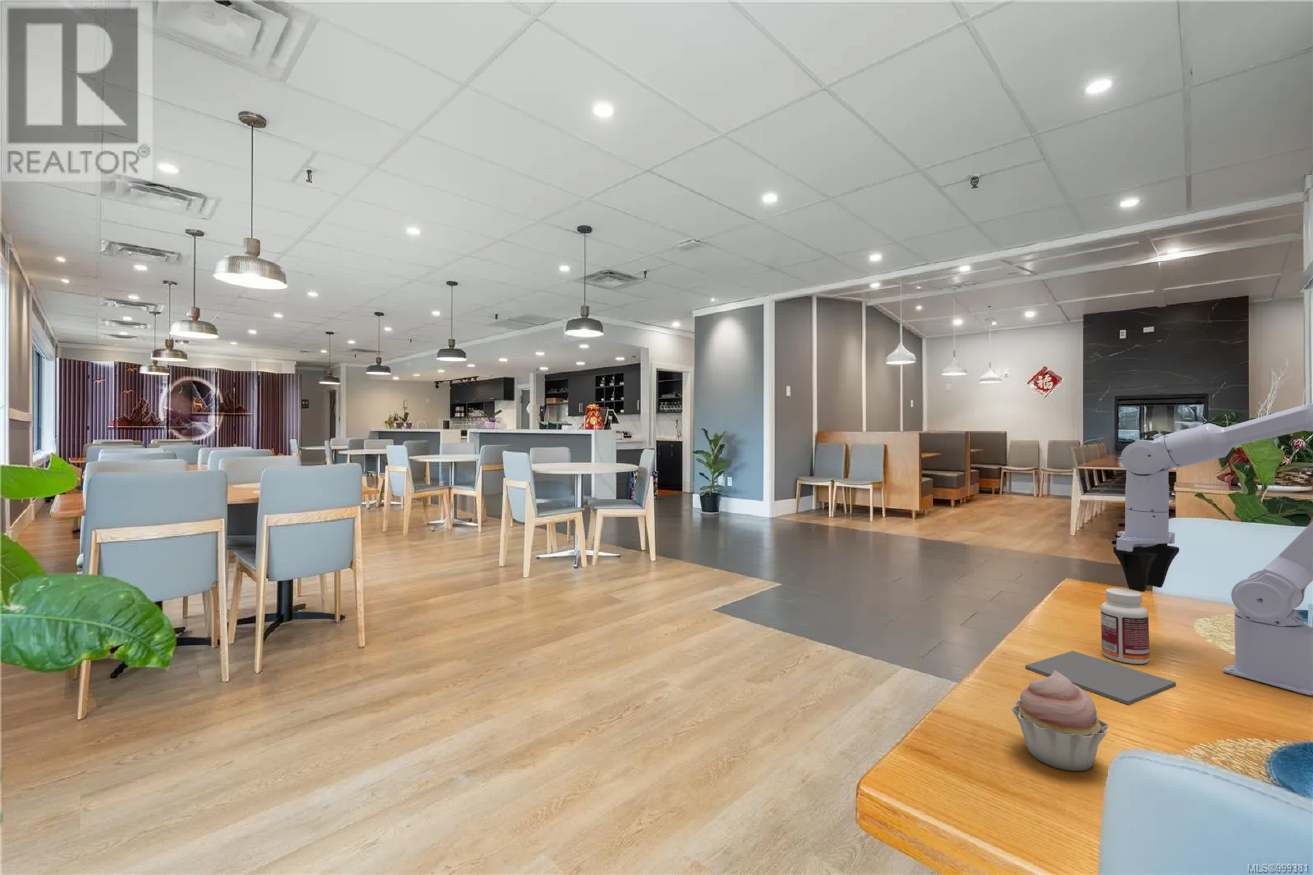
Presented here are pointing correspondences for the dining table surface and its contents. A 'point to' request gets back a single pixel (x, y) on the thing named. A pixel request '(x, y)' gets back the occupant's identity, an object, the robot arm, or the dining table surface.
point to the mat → (1103, 677)
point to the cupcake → (1059, 723)
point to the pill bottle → (1125, 627)
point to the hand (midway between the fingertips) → (1145, 588)
